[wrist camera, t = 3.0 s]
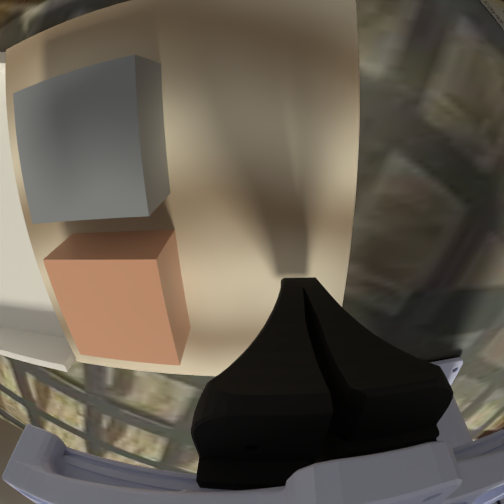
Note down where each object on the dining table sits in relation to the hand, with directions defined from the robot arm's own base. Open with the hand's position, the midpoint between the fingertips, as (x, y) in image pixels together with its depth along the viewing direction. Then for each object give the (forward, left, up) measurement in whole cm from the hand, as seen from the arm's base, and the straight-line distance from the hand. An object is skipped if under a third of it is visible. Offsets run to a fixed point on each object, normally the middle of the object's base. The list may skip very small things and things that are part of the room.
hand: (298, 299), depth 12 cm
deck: (+3, +5, -3) cm, 7 cm away
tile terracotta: (0, +7, -1) cm, 7 cm away
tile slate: (+6, +7, -1) cm, 10 cm away
